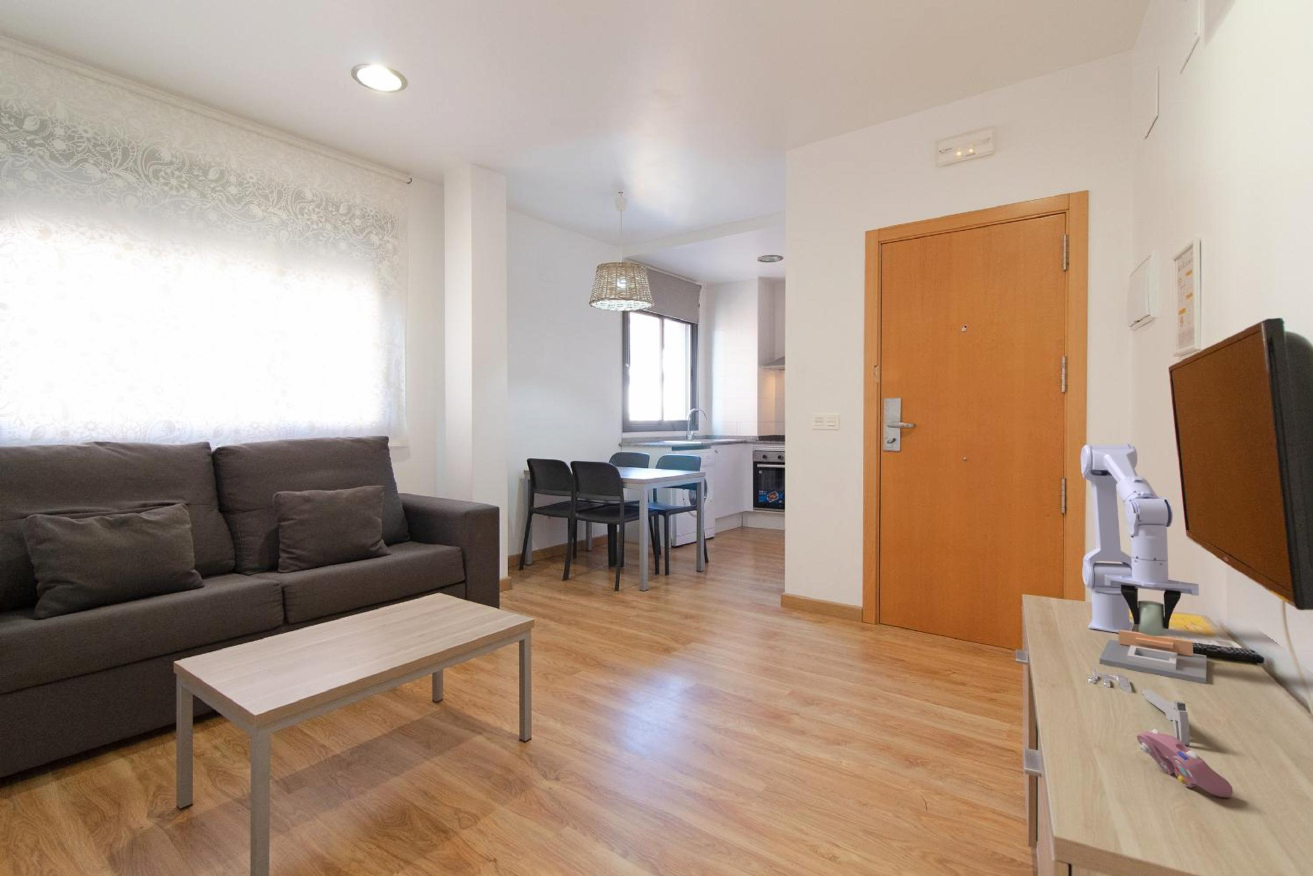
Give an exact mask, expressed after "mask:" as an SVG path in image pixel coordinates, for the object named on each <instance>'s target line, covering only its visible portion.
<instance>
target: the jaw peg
mask: <svg viewBox="0 0 1313 876" xmlns="http://www.w3.org/2000/svg"><path fill="white" fill-rule="evenodd" d="M1138 618H1139V625H1138V632H1139V633H1142V634H1145V635H1150V636H1165V629H1164V603H1162V602H1160V601H1159V602H1158V601H1153V600H1138Z"/></svg>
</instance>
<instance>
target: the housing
mask: <svg viewBox="0 0 1313 876" xmlns="http://www.w3.org/2000/svg"><path fill="white" fill-rule="evenodd" d="M1207 659H1208V658H1207V655H1204V654H1198V653H1194V652H1193V656H1189V655H1183V654H1177V653H1174V652H1168V651H1162V650H1156V649H1150V648H1144V647H1138V646H1132V645H1131V646H1129V645H1123V644H1119V640H1113V639H1108V640H1107V643H1106V644H1105V647H1104V649H1103V651H1102V653H1101V655H1100V657H1099V664H1100V665H1104V666H1111V667H1116V668H1121V669H1126V670H1132V671H1136V672H1141V673H1147V674H1152V675H1157V676H1163V677H1167V678H1174V679H1179V680H1182V681H1183V680H1184V681H1189V682H1195V683H1198V684H1199V683H1200V684H1205V685H1206V684H1207V665H1208V664H1207V661H1208V660H1207Z"/></svg>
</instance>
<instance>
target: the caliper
mask: <svg viewBox="0 0 1313 876" xmlns="http://www.w3.org/2000/svg"><path fill="white" fill-rule="evenodd" d="M1140 693H1141V694H1142V696H1143V697H1144V699H1145V700H1147V701H1148V702H1149V703H1150V704H1152V705H1154V706H1155V707H1157V708H1158V709H1159V710H1161V711H1162V712H1164V713H1165V719H1166V720H1168V721H1170V722H1172V724H1173V728H1174V735H1175V738H1177V739H1179V740H1180V741H1182V742H1183V743H1184V744H1185V745H1186V746H1190V744H1191V743H1190V722H1189V715H1188V714H1189V713H1188V711H1187V708H1186V703H1185V702H1183V701H1182V700H1181V701H1180V700H1173V702H1172V701H1168V700H1166V699H1164V698H1163V697H1162V696H1160V695H1159V694H1157V693H1155V692H1154V691H1152V690H1151V689H1146V688H1142V690H1141V691H1140Z"/></svg>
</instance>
